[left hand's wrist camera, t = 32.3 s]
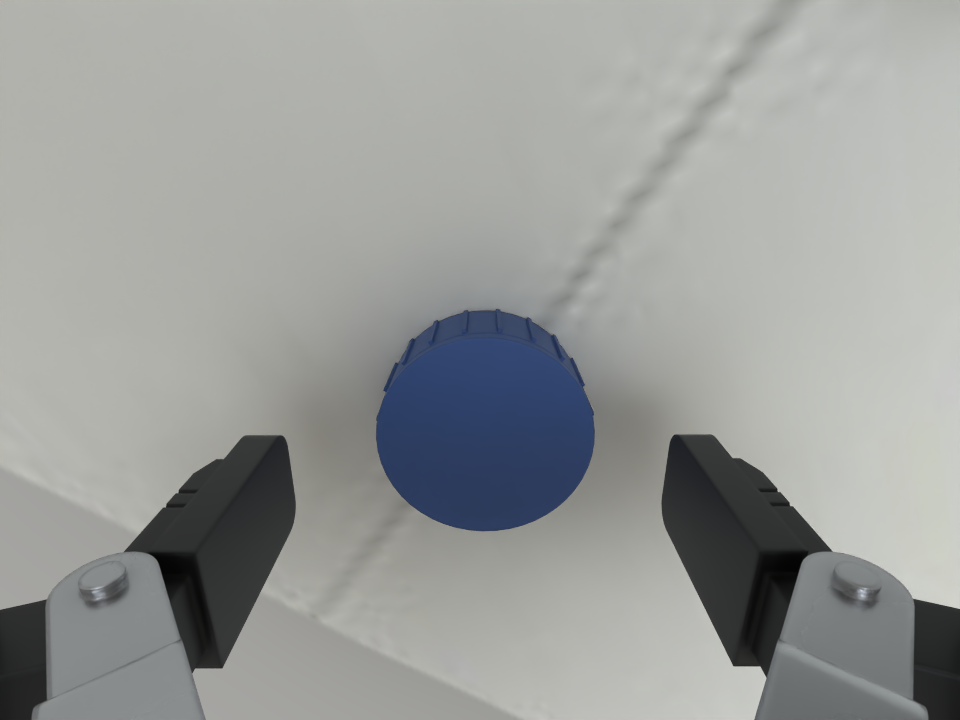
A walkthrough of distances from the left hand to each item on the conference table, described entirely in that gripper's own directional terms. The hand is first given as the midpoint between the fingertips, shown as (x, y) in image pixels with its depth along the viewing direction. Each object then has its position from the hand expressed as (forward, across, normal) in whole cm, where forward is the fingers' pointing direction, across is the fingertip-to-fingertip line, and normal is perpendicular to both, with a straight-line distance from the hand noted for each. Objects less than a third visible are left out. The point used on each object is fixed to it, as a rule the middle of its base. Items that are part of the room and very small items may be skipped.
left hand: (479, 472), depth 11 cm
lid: (+2, 0, 0) cm, 2 cm away
